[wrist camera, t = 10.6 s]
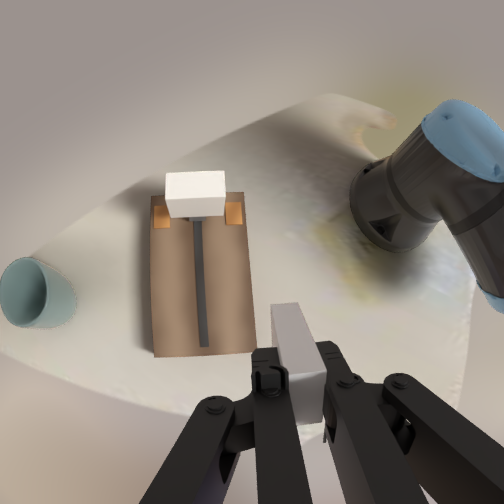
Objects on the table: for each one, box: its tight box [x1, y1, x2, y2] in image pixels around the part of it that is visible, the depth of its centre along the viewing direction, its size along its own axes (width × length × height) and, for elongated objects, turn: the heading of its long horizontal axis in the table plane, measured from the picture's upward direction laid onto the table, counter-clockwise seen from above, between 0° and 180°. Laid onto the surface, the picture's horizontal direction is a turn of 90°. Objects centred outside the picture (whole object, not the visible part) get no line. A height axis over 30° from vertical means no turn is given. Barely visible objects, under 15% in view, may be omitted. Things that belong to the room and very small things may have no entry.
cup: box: [0, 257, 77, 329], centre depth 30 cm, size 8×8×10 cm
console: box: [150, 192, 257, 358], centre depth 37 cm, size 12×20×3 cm, turn 5°
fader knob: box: [165, 171, 226, 221], centre depth 33 cm, size 6×3×8 cm, turn 95°
